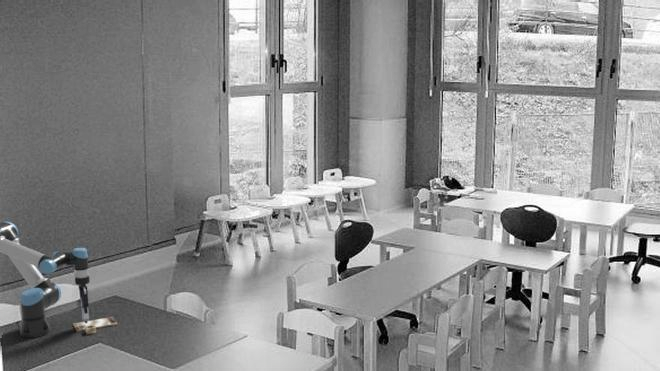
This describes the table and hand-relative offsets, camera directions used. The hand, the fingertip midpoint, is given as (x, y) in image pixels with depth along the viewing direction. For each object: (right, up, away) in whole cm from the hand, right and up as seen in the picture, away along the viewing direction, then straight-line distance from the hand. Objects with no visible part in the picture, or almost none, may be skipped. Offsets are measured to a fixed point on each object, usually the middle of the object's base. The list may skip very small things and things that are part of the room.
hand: (85, 317), depth 443 cm
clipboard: (+4, -4, +3) cm, 7 cm away
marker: (0, -3, +1) cm, 3 cm away
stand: (+5, -7, -9) cm, 12 cm away
